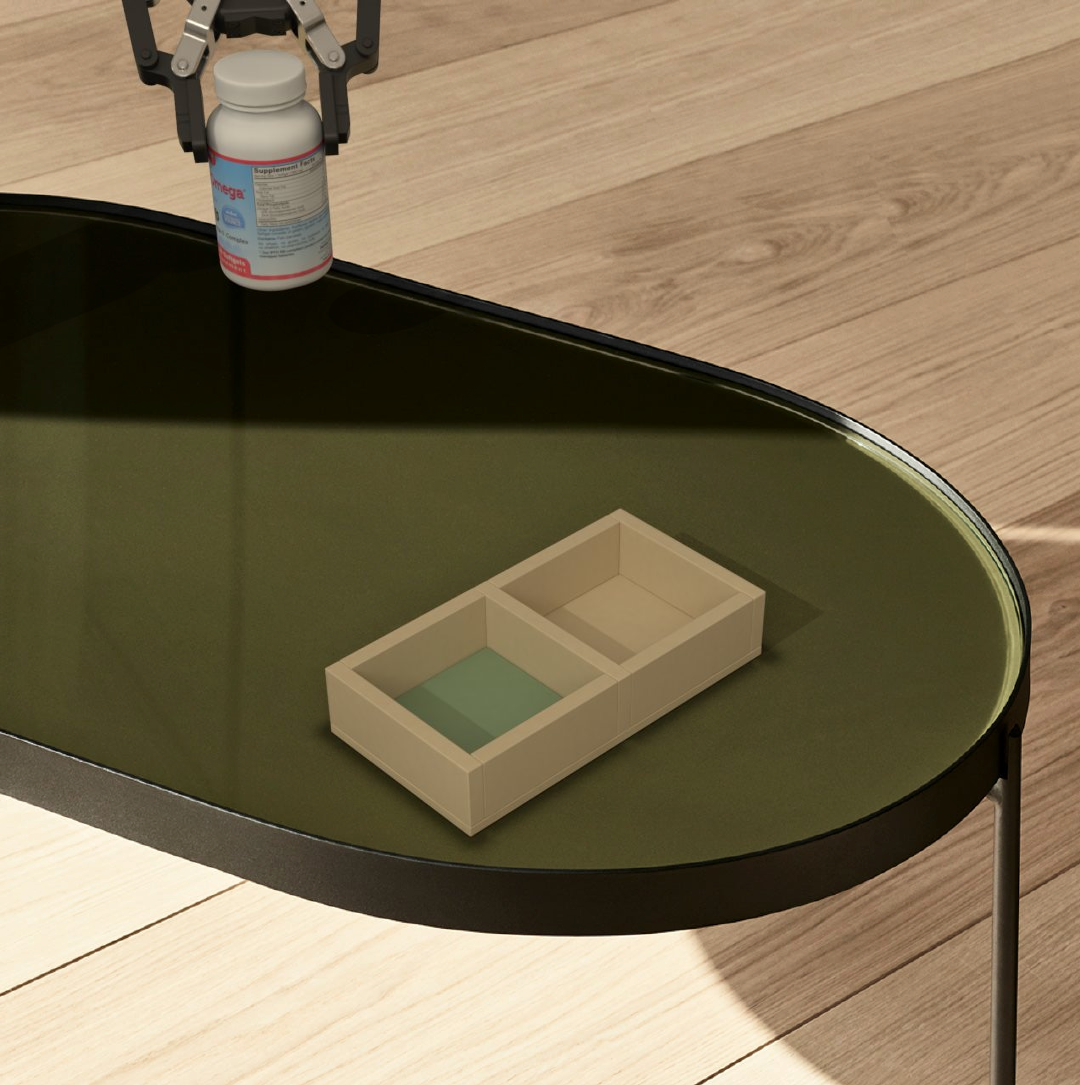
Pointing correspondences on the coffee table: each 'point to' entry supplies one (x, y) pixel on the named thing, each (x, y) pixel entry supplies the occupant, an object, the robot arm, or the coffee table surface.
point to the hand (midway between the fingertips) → (267, 153)
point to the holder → (543, 667)
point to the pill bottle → (268, 173)
